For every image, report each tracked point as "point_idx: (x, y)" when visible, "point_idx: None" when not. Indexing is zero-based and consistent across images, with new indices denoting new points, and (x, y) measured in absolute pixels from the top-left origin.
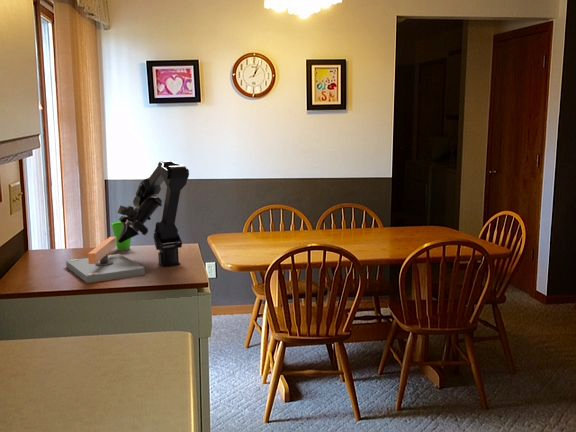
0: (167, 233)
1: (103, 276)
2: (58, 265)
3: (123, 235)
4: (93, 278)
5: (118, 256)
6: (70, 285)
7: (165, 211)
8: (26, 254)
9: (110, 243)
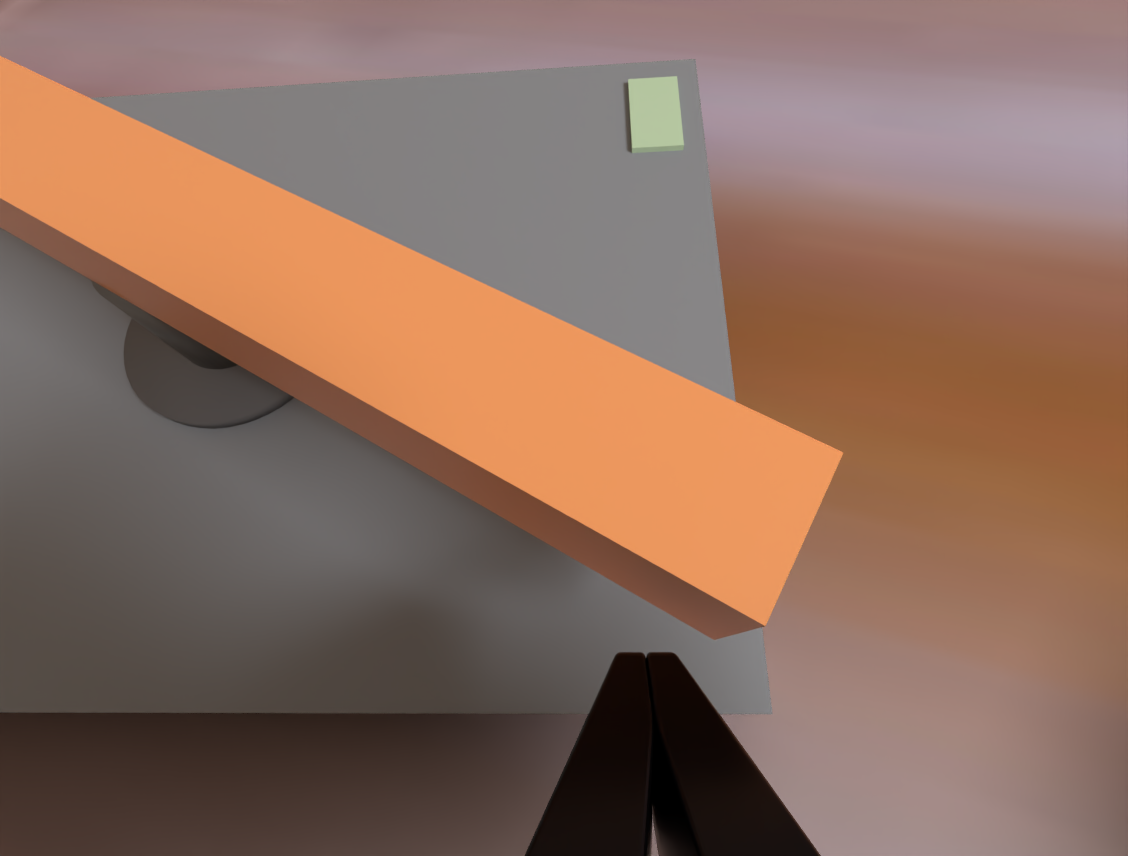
0: None
1: None
2: (805, 78)
3: (534, 851)
4: None
5: (564, 630)
6: (36, 67)
7: None
8: None
9: (226, 334)
